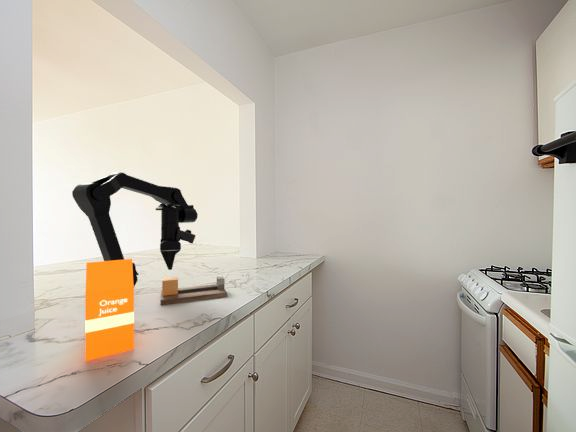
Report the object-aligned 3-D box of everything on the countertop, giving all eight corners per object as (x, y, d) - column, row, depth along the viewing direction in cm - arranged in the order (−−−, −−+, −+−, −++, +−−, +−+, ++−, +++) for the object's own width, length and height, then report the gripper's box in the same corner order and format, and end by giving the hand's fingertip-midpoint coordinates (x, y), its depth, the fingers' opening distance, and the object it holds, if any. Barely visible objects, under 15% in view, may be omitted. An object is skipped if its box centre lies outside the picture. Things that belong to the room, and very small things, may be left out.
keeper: (177, 294, 92) (178, 279, 92) (162, 295, 90) (162, 281, 90) (177, 290, 96) (177, 276, 96) (162, 292, 94) (162, 277, 94)
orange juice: (87, 345, 60) (86, 259, 60) (131, 335, 66) (131, 256, 65) (85, 361, 54) (84, 265, 54) (134, 349, 59) (134, 261, 59)
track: (226, 296, 96) (227, 281, 96) (160, 304, 87) (160, 288, 87) (220, 287, 107) (220, 274, 107) (160, 294, 97) (160, 279, 97)
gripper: (197, 224, 88) (196, 270, 88) (191, 222, 105) (191, 260, 105) (160, 224, 83) (159, 273, 83) (160, 222, 100) (160, 262, 100)
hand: (169, 267), depth 93 cm, fingers open, 9 cm apart
